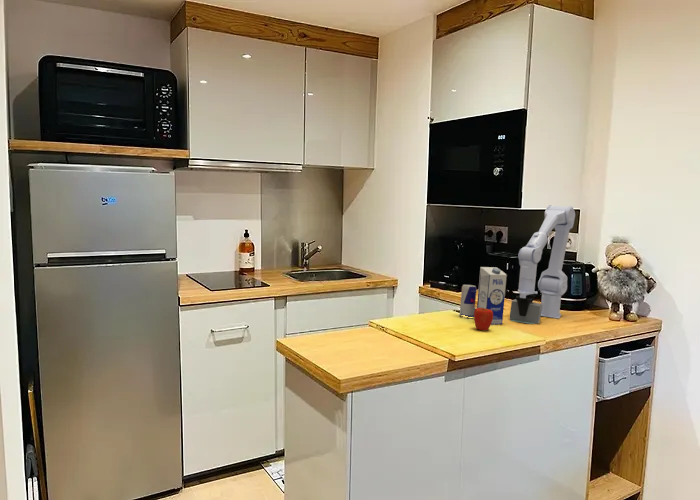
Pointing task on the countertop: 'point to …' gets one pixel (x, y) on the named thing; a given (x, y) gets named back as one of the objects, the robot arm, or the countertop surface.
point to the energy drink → (468, 300)
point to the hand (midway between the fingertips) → (524, 314)
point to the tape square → (521, 321)
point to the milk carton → (492, 292)
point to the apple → (483, 318)
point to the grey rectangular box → (532, 312)
